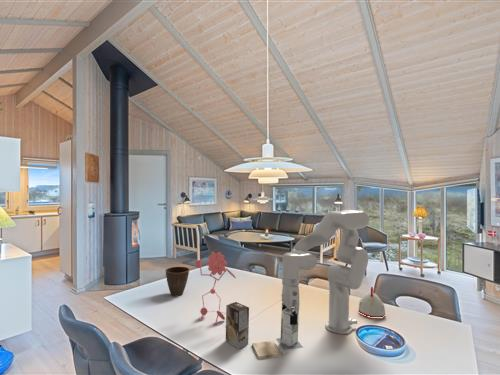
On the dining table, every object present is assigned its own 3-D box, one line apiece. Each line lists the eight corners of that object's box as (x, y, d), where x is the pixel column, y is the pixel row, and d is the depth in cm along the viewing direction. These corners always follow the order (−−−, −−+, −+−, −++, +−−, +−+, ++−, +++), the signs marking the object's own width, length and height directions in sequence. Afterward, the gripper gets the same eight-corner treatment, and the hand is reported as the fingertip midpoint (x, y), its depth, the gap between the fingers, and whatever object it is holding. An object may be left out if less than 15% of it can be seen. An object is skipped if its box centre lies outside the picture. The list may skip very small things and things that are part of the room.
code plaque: (294, 336, 130) (294, 336, 130) (302, 347, 121) (302, 346, 121) (276, 338, 128) (276, 338, 128) (283, 349, 119) (283, 349, 119)
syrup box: (286, 337, 128) (287, 306, 129) (298, 342, 125) (298, 309, 125) (280, 342, 124) (280, 309, 124) (291, 347, 120) (292, 313, 121)
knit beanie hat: (357, 315, 155) (357, 288, 156) (359, 307, 168) (359, 282, 168) (385, 321, 149) (385, 293, 150) (385, 311, 162) (385, 286, 162)
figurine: (229, 329, 135) (231, 256, 137) (186, 318, 147) (189, 251, 148) (243, 317, 149) (245, 252, 151) (203, 308, 160) (206, 247, 162)
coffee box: (249, 344, 122) (250, 307, 123) (238, 349, 118) (239, 311, 118) (235, 336, 129) (236, 301, 129) (224, 341, 124) (225, 304, 125)
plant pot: (183, 299, 172) (183, 273, 173) (160, 297, 174) (161, 271, 175) (191, 291, 187) (192, 267, 187) (170, 289, 189) (171, 266, 190)
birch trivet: (273, 343, 124) (273, 340, 124) (281, 356, 114) (282, 352, 114) (252, 345, 121) (252, 342, 121) (258, 359, 111) (258, 355, 111)
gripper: (306, 286, 118) (305, 327, 117) (290, 275, 134) (289, 311, 134) (290, 287, 116) (288, 329, 115) (276, 275, 133) (274, 312, 132)
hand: (289, 319), depth 124 cm, fingers open, 9 cm apart
